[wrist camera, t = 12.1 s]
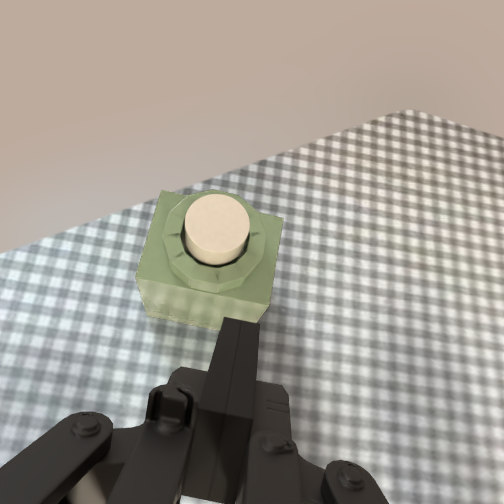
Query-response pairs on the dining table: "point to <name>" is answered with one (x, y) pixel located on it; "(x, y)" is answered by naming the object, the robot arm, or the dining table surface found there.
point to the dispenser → (206, 268)
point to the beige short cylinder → (216, 229)
